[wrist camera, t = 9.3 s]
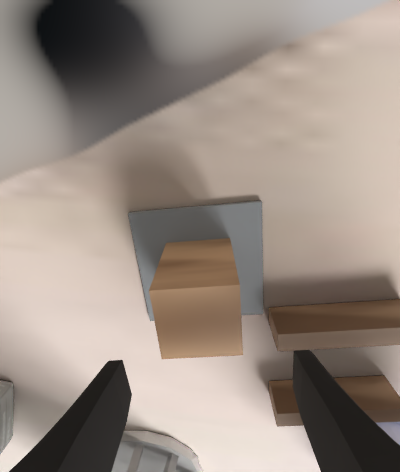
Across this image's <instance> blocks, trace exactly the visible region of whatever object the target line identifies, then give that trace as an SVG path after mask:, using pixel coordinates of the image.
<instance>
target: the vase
mask: <svg viewBox="0 0 400 472" xmlns="http://www.w3.org/2000/svg"><path fill="white" fill-rule="evenodd" d="M111 472H203V469H202V467H201V466H200V464H199V460H198V456H196V455H195V454H194V453H193V451H192V450H191V449H190V448H188V447H187V446H185V445H183V444H182V443H180V442H178V441H177V440H175V439H174V438H172V437H168V436H164V435H161V434H157V433H153V432H149V431H124V432H123V435H122V439H121V442H120V445H119V448H118V452H117V455H116V458H115V462H114V465H113V468H112V471H111Z"/></svg>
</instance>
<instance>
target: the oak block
mask: <svg viewBox="0 0 400 472" xmlns="http://www.w3.org/2000/svg"><path fill="white" fill-rule="evenodd" d="M149 294H150V299H151V304H152V310H153V315H154V320H155V326H156V331H157V336H158V341H159V347H160V352H161V357H162V359H174V358H194V357H215V356H236V355H243V349H242V325H241V301H240V283H239V278H238V274H237V269H236V264H235V259H234V254H233V249H232V245H231V240H230V238H225V239H212V240H198V241H184V242H171V243H166V245H165V248H164V250H163V253H162V256H161V259H160V261H159V264H158V267H157V270H156V272H155V275H154V278H153V281H152V283H151V286H150V289H149Z"/></svg>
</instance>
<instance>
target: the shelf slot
mask: <svg viewBox="0 0 400 472" xmlns="http://www.w3.org/2000/svg"><path fill="white" fill-rule="evenodd" d="M269 325H270V328H271V331H272V335H273V338H274V341H275V344H276V347H277V350H278V351H295V350H313V349H331V348H350V347H368V346H386V345H400V299H394V300H378V301H363V302H347V303H332V304H316V305H301V306H285V307H270V308H269ZM334 379H335V380H336V382H337V383H338V384H339V385H340V386H341V387H342V388H343V389H344V390H345V392H346V393H347V394H348V395H349V396H350V397H351V398H352V399H353V400H354V401H355V402H356V403H357V404H358V405H359V407H360V408H361V409H362V410H363V411H364V412H365V413H366V414H367V415H368V416H369V417H370V418H371V419H372V420H373V421H374V422H375V423H380V422H400V397H399V395H398V394H397V393H396V391H395V390H394V388H393V387H392V386H391V384H390V383H389V381H388V380H387V379H386V377H385V376H384V375H382V376H362V377H341V378H334ZM269 394H270V399H271V403H272V407H273V412H274V416H275V420H276V424H277V426H300V425H304V424H303V421H302V419H301V416H300V413H299V409H298V405H297V402H296V398H295V394H294V390H293V380H279V381H269Z"/></svg>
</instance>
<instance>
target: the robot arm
mask: <svg viewBox="0 0 400 472" xmlns="http://www.w3.org/2000/svg"><path fill="white" fill-rule="evenodd" d="M293 390H294V394H295V398H296V402H297V405H298V409H299V413H300V416H301V419H302V421H303V424H304V427H305V430H306V432H307V435H308V438H309V440H310V443H311V446H312V448H313V451H314V454H315V457H316V459H317V462H318V465H319V467H320V470H321V472H400V422H380V423H375V422H374V421H373V420H372V419H371V418H370V417H369V416H368V415H367V414H366V413H365V412H364V411H363V410H362V409H361V408H360V407H359V405H358V404H357V403H356V402H355V401H354V400H353V399H352V398H351V397H350V396H349V395H348V394H347V393H346V392H345V390H344V389H343V388H342V387H341V386H340V385H339V384H338V383H337V382H336V380H335V379H334V378H333V377H332V376H331V375H330V374H329V372H328V371H327V370H326V369H325V368H324V366H323V365H322V364H321V363H320V362H319V360H318V359H317V358H316V357H315V355H314V354H313V353H312V352H311V351H310V350H295V351H294V362H293ZM131 396H132V393H131V390H130V386H129V383H128V379H127V375H126V372H125V368H124V364H123V361H122V360H116V361H108V362H107V363H106V364H105V366H104V367H103V368H102V369H101V371H100V372H99V373H98V374H97V376H96V377H95V378H94V379H93V381H92V382H91V383H90V384H89V386H88V387H87V388H86V389H85V391H84V392H83V393H82V394H81V395H80V397H79V398H78V399H77V400H76V401H75V403H74V404H73V405H72V406H71V407H70V409H69V410H68V411H67V412H66V413H65V414H64V415H63V417H62V418H61V419H60V420H59V421H58V422H57V423H56V424H55V425H54V427H53V428H52V429H51V430H50V431H49V432H48V433H47V434H46V435H45V436H44V437H43V439H42V440H41V441H40V442H39V443H38V444H37V445H36V446H35V447H34V448H33V449H32V450H31V451H30V452H29V453H28V454H27V455H26V456H25V457H24V458H23V459H22V460H21V461H20V462H19V463H18V464H17V465H16V466H14V467H13V468H12V469H11V470H10V471H9V472H111V471H112V468H113V465H114V462H115V458H116V455H117V452H118V448H119V445H120V442H121V439H122V435H123V432H124V429H125V425H126V422H127V417H128V412H129V407H130V401H131Z"/></svg>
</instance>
